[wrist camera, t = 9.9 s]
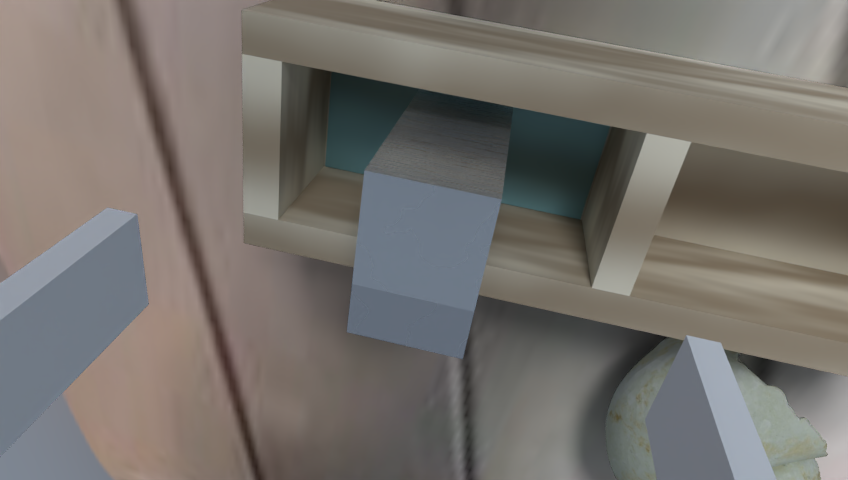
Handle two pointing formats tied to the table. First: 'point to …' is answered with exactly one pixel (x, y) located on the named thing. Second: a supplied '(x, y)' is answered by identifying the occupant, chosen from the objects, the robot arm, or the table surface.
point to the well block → (571, 169)
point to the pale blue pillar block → (429, 222)
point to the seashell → (772, 416)
